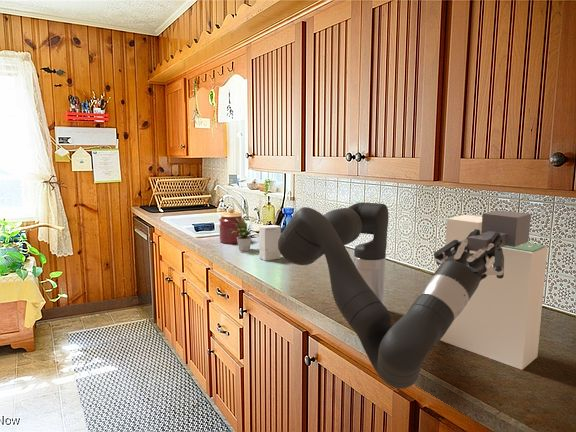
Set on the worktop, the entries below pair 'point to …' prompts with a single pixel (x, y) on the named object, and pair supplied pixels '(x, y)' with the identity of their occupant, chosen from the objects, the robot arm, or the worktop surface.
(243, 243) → the house plant
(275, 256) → the skincare box
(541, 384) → the worktop surface
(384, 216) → the robot arm
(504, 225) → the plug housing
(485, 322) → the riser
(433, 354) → the worktop surface
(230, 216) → the canister
